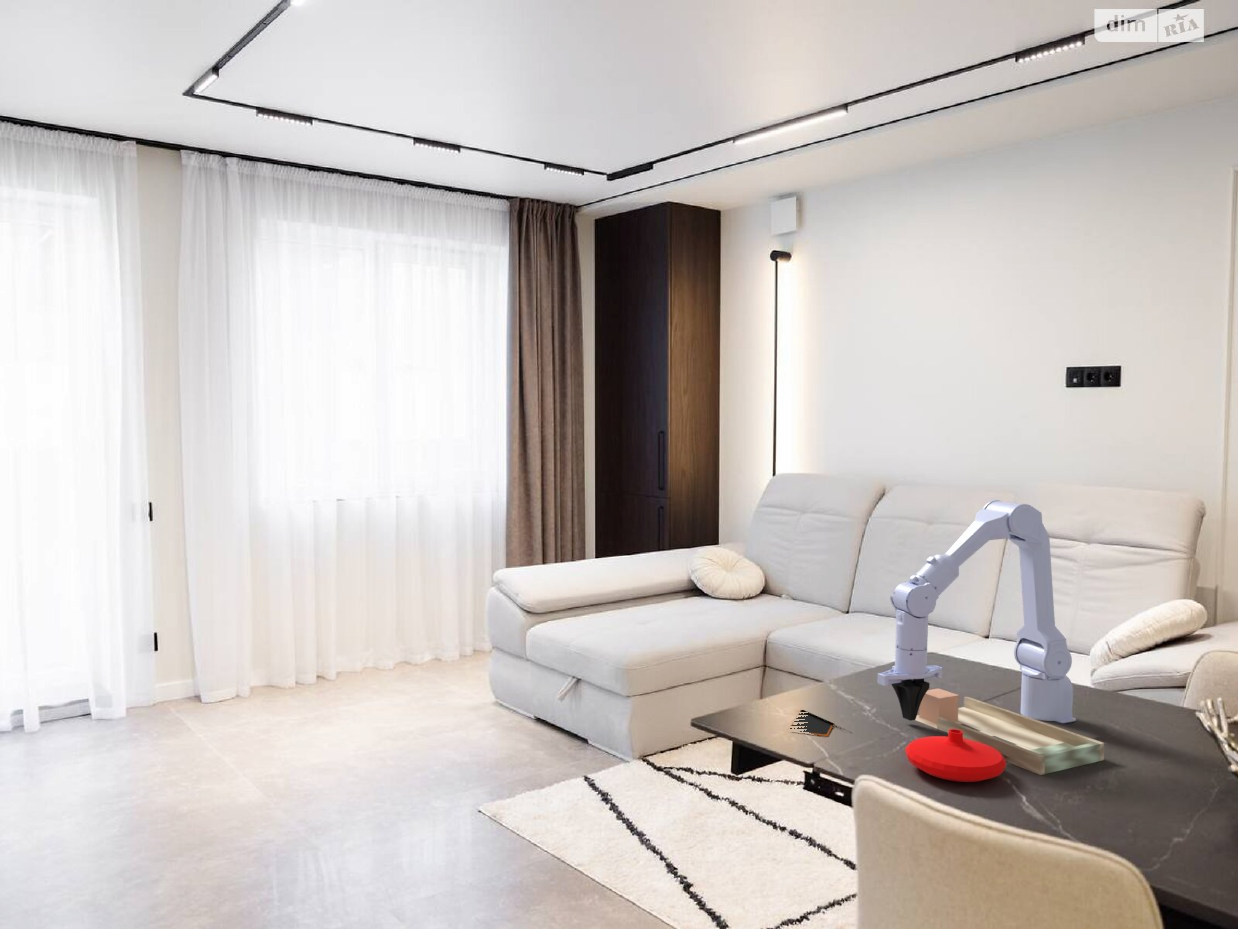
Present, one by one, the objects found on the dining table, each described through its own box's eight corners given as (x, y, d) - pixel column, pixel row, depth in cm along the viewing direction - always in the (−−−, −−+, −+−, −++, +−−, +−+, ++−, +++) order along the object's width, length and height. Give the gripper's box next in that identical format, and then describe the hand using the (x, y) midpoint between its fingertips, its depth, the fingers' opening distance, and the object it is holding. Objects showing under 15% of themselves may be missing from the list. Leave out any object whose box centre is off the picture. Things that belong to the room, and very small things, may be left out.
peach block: (938, 713, 184) (938, 688, 184) (957, 721, 179) (958, 695, 179) (919, 717, 181) (919, 691, 181) (938, 724, 177) (939, 698, 177)
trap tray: (967, 711, 189) (967, 696, 189) (1103, 760, 162) (1104, 743, 162) (907, 722, 181) (907, 706, 181) (1040, 775, 155) (1040, 757, 155)
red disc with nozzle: (995, 800, 145) (997, 755, 144) (893, 778, 153) (894, 735, 153) (1013, 768, 158) (1015, 727, 158) (918, 750, 166) (919, 710, 166)
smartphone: (786, 734, 175) (787, 729, 175) (803, 709, 190) (803, 704, 190) (828, 739, 172) (828, 734, 172) (841, 713, 188) (841, 709, 188)
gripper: (924, 639, 183) (921, 708, 184) (866, 646, 176) (864, 717, 177) (952, 647, 177) (949, 718, 177) (893, 654, 170) (891, 728, 171)
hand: (909, 718), depth 177 cm, fingers closed
